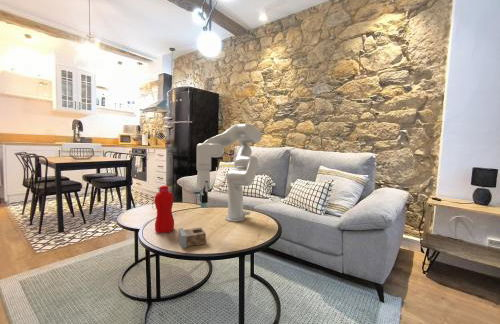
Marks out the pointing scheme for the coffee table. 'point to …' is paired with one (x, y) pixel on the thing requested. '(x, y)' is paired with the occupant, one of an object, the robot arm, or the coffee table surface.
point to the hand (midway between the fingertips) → (203, 201)
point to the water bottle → (164, 210)
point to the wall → (182, 238)
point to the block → (195, 236)
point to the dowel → (203, 203)
